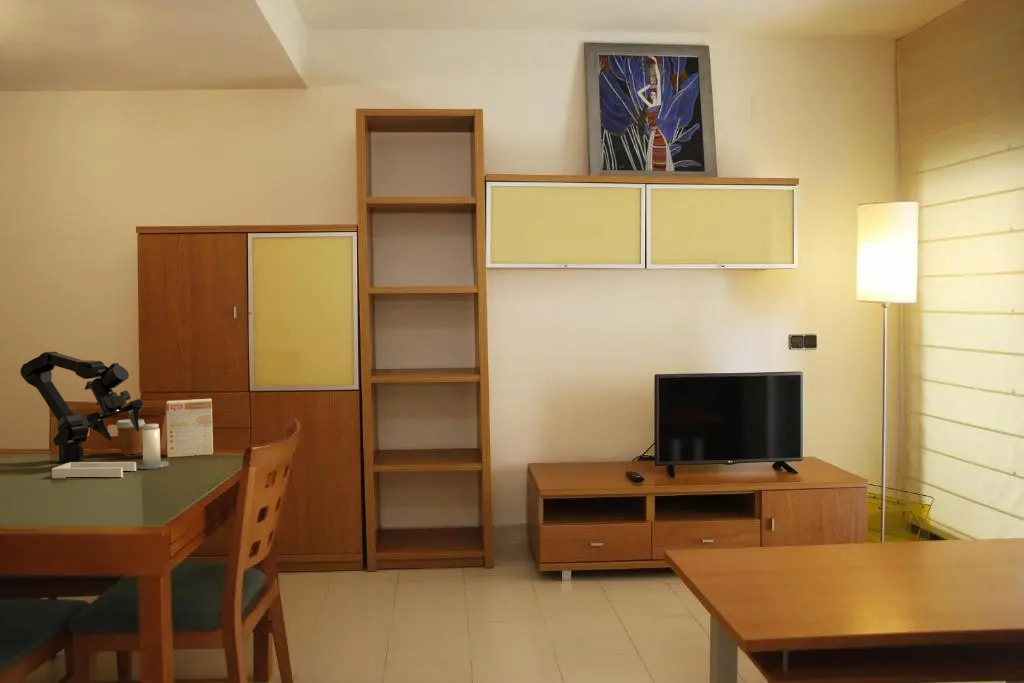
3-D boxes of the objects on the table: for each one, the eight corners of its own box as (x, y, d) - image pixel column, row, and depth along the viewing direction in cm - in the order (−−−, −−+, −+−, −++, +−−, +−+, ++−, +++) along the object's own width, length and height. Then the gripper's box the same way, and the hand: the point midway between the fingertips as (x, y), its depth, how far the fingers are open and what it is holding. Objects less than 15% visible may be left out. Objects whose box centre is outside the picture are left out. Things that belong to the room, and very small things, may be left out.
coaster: (129, 470, 257) (129, 466, 257) (143, 463, 267) (143, 461, 267) (160, 469, 257) (160, 466, 257) (173, 463, 267) (173, 460, 267)
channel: (52, 478, 245) (51, 468, 245) (69, 471, 255) (69, 462, 255) (121, 477, 245) (121, 468, 245) (136, 471, 255) (136, 461, 255)
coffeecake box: (213, 451, 290) (212, 398, 289) (212, 454, 283) (211, 400, 283) (168, 454, 285) (167, 400, 284) (167, 457, 278) (165, 402, 278)
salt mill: (142, 465, 259) (141, 426, 258) (143, 463, 264) (142, 423, 263) (160, 464, 261) (159, 425, 260) (160, 461, 266) (159, 423, 265)
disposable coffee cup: (137, 456, 281) (137, 422, 281) (111, 456, 281) (110, 422, 281) (150, 451, 291) (150, 418, 290) (124, 451, 291) (124, 418, 290)
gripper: (82, 393, 254) (103, 436, 252) (139, 377, 268) (159, 417, 266) (73, 407, 261) (93, 449, 259) (128, 390, 275) (148, 429, 273)
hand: (124, 435), depth 264 cm, fingers open, 9 cm apart
